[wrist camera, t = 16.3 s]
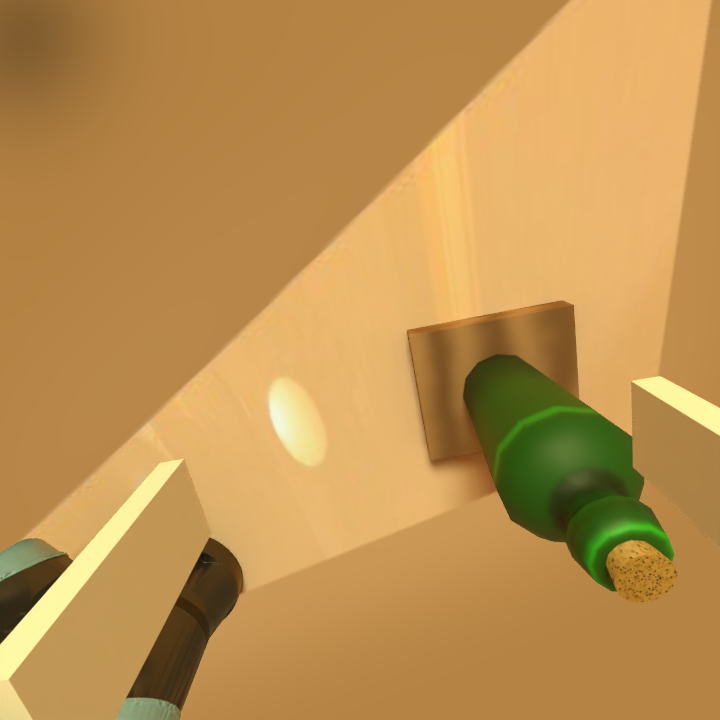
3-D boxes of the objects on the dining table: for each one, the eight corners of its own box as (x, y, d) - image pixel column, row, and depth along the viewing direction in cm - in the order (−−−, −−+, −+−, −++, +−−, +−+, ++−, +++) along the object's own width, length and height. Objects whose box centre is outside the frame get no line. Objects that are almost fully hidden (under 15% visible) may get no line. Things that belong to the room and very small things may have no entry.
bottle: (489, 446, 52) (612, 680, 26) (434, 383, 50) (504, 569, 23) (564, 392, 50) (786, 588, 23) (510, 324, 48) (686, 454, 21)
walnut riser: (428, 448, 56) (430, 460, 53) (406, 330, 51) (409, 336, 48) (570, 424, 54) (581, 435, 51) (562, 300, 50) (573, 305, 47)
